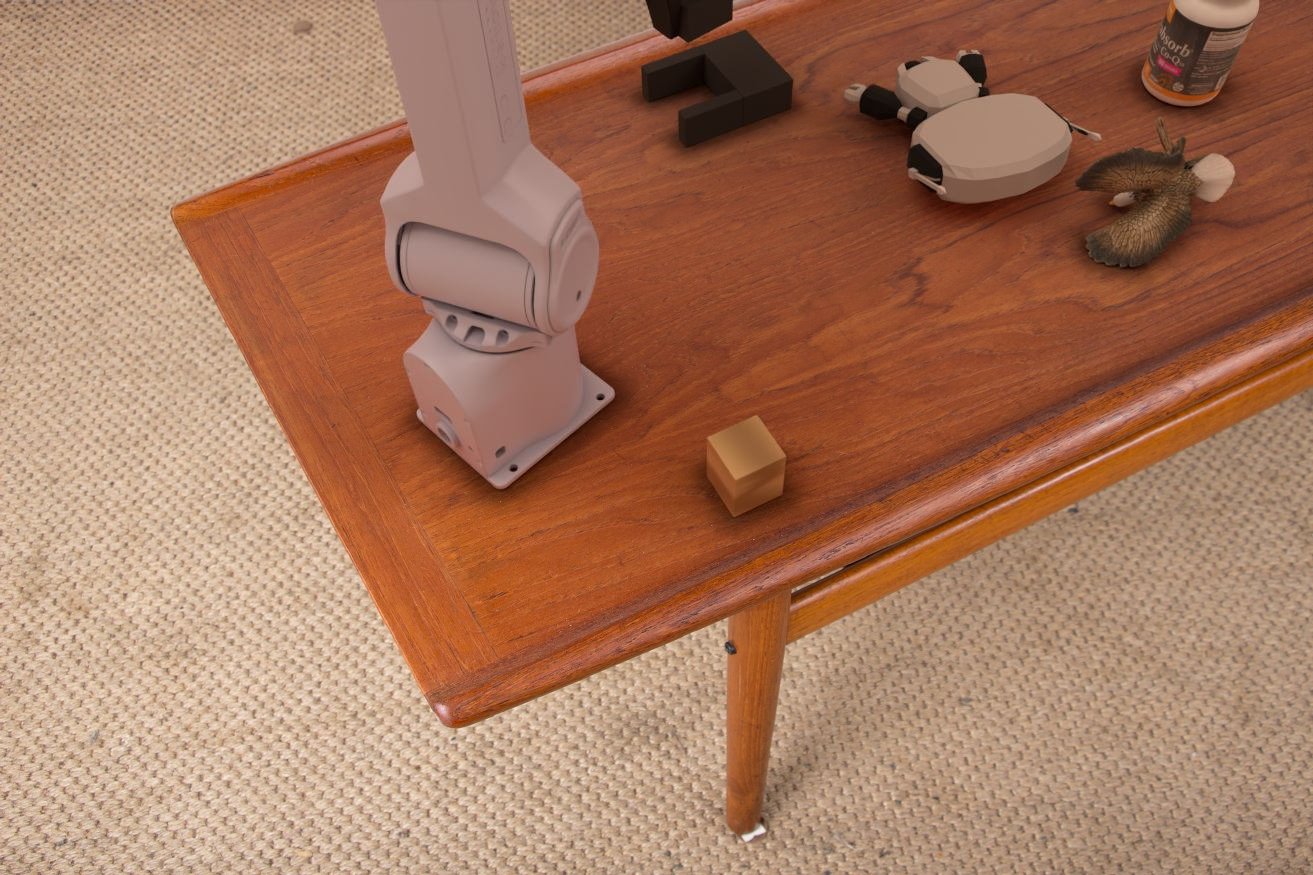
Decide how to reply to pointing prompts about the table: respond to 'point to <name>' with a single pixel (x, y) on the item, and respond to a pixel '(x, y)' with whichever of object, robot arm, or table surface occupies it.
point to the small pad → (703, 17)
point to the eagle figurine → (1151, 197)
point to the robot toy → (970, 130)
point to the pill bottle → (1196, 49)
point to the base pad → (721, 85)
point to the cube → (745, 465)
